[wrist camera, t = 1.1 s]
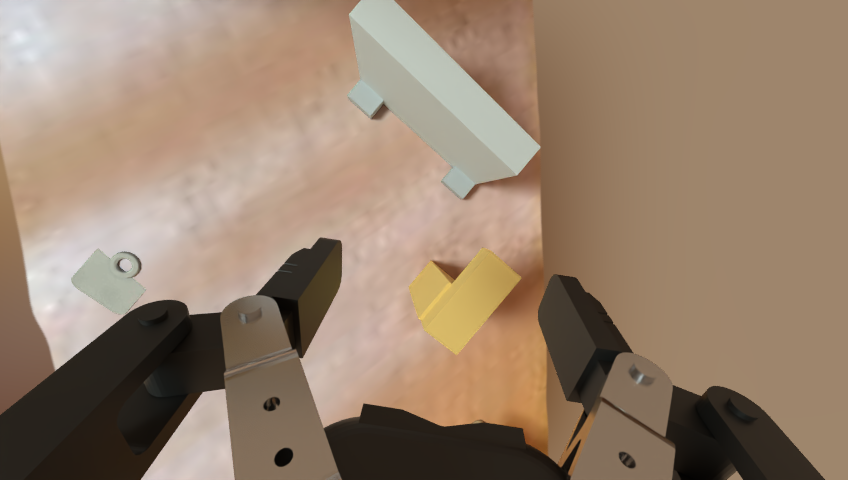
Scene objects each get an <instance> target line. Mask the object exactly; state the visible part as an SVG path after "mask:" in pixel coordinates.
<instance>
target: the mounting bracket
mask: <svg viewBox="0 0 848 480" xmlns="http://www.w3.org/2000/svg"><path fill="white" fill-rule="evenodd" d="M121 259H128V260H129V261H130V262H131V263H132V268H131V270H129V271H128V272H125V271H124V270H123V269H121V268H120V267H119V266H118V262H119V260H121ZM140 269H141V263H140V261H139V259H138V258H137V257H136V256H135V255H134V254H132V253H130V252H120V253H117V254H116V255H114V256H113V257H112V258H111V259H110V258H109V257H108V256H106V255H105V254H104V253H103V252H102V251H100V250H99V249H97V250H96V251H95V252H94V253H93V254H92V255H91V257H90V258H89V259H88V260H87V261H86V262H85V263H84V265H83V266H82V267H81V268H80V269H79V270H78V271H77V272H76V274H75V275H74V276H73V277H72V278H71V281H72V284H73V285H74V286H75V287H76V288H77V289H78V290H80V291H81V292H83V293H85V294H86V295H88V296H89V297H91V298H92V299H94V300H95V301H97V302H98V303H100V304H101V305H103V306H104V307H106V308H107V309H109V310H110V311H112V312H114V313H116V314H126V313H127V311H128V310H129V309H130V308H131V307H132V306H133V304H134V303H135V302H136V301H137V300H138V299H139V298H140V296H141V295H142V294H143V293H144V292H145V291H146V289H145V288H144V287H143V286H142V285H140V284H139V283H138V282H137V281H136V280H135V279H133V278H132V277H134V276H136V275H137V274H138V273H139V271H140Z"/></svg>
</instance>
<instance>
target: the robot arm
mask: <svg viewBox="0 0 848 480" xmlns="http://www.w3.org/2000/svg"><path fill="white" fill-rule="evenodd" d="M341 277H342V243H341V241H340V240H334V239H327V238H319V239H318V240H317V242H316V243H315V244H314V245H313V247H312V248H311V249H306V248H303V249H301V250H299V251H298V252H296V253H294V254H292V255H291V256H290V257H289V258H288V260H287V261H286V262H285V264H283V265H282V266H281V267H280V269H279V270H278V271H277V272H276V273H275V274H274V275H273V276H272V278H271V279H270V280H269V281H268V282H267V283H266V284H265V285H264V287H263V288H262V289H261V290H260V291H259V292H258V293H257V294H256V295H253V296H247V297H243V298H240V299H237V300H235V301H233V302H232V303H230V304H229V305H228V306H226V307H225V309H224V310H223V311H222V312H220V313H208V314H195V315H189V311H188V308H187V306H186V305H185V304H184V303H182V302H180V301H176V300H162V301H156V302H152V303H148V304H145V305H143V306H140V307H138V308H136V309H134V310H132V311H131V312H129V313H128V314H126V315H125V316H124V317H123V318H121V319H120V320H119V321H118V322H116V323H115V324H114V325H113V326H111V327H110V328H109V329H108V330H106V331H105V332H104V333H103V334H101V335H100V336H99V337H98V338H96V339H95V340H94V341H93V342H91V343H90V344H89V345H87V346H86V347H85V348H84V349H82V350H81V351H80V352H79V353H77V354H76V355H75V356H74V357H72V358H71V359H70V360H69V361H67V362H66V363H65V364H64V365H62V366H61V367H60V368H59V369H57V370H56V371H55V372H54V373H53V374H51V375H50V376H49V377H48V378H46V379H45V380H44V381H42V382H41V383H40V384H39V385H37V386H36V387H35V388H34V389H32V390H31V391H30V392H29V393H27V394H26V395H25V396H24V397H22V398H21V399H20V400H19V401H18V402H16V403H15V404H14V405H12V406H11V407H10V408H9V409H7V410H6V411H5V412H4V413H2V414H1V415H0V480H141V478H142V477H143V476H144V474H145V473H146V471H147V470H148V468H149V467H150V466H151V464H152V463H153V461H154V460H155V459H156V457H157V456H158V454H159V453H160V452H161V450H162V449H163V447H164V446H165V445H166V443H167V442H168V440H169V439H170V438H171V436H172V435H173V433H174V432H175V430H176V429H177V428H178V426H179V425H180V423H181V422H182V421H183V419H184V418H185V416H186V415H187V414H188V412H189V411H190V409H191V408H192V407H193V405H194V404H195V402H196V401H197V399H198V398H199V397H200V395H201V394H202V392H205V391H213V390H220V389H225V390H226V400H227V410H228V419H229V429H230V438H231V448H232V457H233V467H234V476H235V480H727V479H728V478H729V477H730V476H731V475H733V474H734V473H735V472H736V471H738V473H739V474H740V476H741V477H742V479H743V480H825V479H824V478H823V477H822V476H821V475H820V473H819V472H818V471H817V470H816V469H815V468H814V467H813V465H812V464H811V463H810V462H809V461H808V460H807V459H806V457H805V456H804V455H803V454H802V453H801V452H800V451H799V449H798V448H797V447H796V446H795V445H794V444H793V443H792V442H791V441H790V439H789V438H788V437H787V436H786V435H785V434H784V433H783V431H782V430H781V429H780V428H779V427H778V426H777V425H776V423H775V422H774V421H773V420H772V419H771V418H770V417H769V416H768V415H767V414H766V412H764V411H763V410H762V409H761V408H760V407H759V406H758V405H756V404H755V403H754V402H752V401H751V400H749V399H748V398H746V397H745V396H743V395H741V394H739V393H737V392H735V391H733V390H730V389H727V388H724V387H720V386H712V387H710V388H708V389H707V391H706V392H705V393H704V394H703V395H702V396H699V395H697V394H694V393H692V392H689V391H687V390H684V389H682V388H679V387H676V386H674V385H672V382H671V380H670V379H669V377H668V376H667V375H666V373H665V372H664V371H663V370H662V369H661V368H659V367H658V366H657V365H656V364H654V363H653V362H651V361H650V360H648V359H646V358H644V357H642V356H639V355H637V354H634V353H633V352H632V350H631V349H630V347H629V346H628V344H627V343H626V341H625V340H624V338H623V337H622V335H621V334H620V332H619V330H618V329H617V327H616V326H615V325H614V324H613V321H612V320H611V318H610V317H609V316H608V315H607V312H606V311H605V309H604V308H603V306H602V305H601V303H600V302H599V301H598V300H596V299H595V298H594V297H593V296H592V295H591V294H590V293H587V292H585V290H584V289H583V288H582V286H581V284H580V282H579V281H578V279H577V278H575V277H569V276H563V275H557V274H555V275H553V276H552V277H551V279H550V281H549V284H548V286H547V289H546V291H545V294H544V296H543V299H542V301H541V304H540V306H539V310H538V321H539V324H540V327H541V330H542V333H543V336H544V338H545V341H546V344H547V347H548V350H549V352H550V355H551V358H552V361H553V364H554V367H555V369H556V372H557V375H558V377H559V380H560V383H561V386H562V389H563V392H564V394H565V397H566V400H567V401H571V402H578V403H582V405H583V407H584V410H583V411H582V413H581V415H580V416H579V419H578V421H577V423H576V425H575V428H574V430H573V432H572V434H571V436H570V439H569V441H568V443H567V445H566V447H565V450H564V452H563V454H562V456H561V458H560V461H559V462H558V464H556V463H555V462H554V461H553V460H552V459H550V458H549V457H548V456H546V455H545V454H543V453H542V452H541V451H539V450H537V449H535V448H534V447H532V446H530V445H528V444H526V443H525V438H524V433H523V429H522V428H516V427H509V426H503V425H497V424H490V423H484V422H483V423H474V424H465V425H456V426H447V427H444V426H439V425H437V424H435V423H432V422H430V421H428V420H425V419H423V418H421V417H418V416H416V415H414V414H411V413H409V412H407V411H404V410H401V409H395V408H389V407H382V406H376V405H370V404H363V408H362V411H361V415H360V417H353V418H349V419H345V420H341V421H339V422H336V423H333V424H331V425H329V426H327V427H325V428H323V425H322V423H321V420H320V417H319V414H318V411H317V408H316V405H315V402H314V399H313V396H312V394H311V391H310V388H309V385H308V382H307V379H306V376H305V373H304V370H303V367H302V365H301V362H300V359H299V358H303V357H304V355H305V353H306V351H307V349H308V347H309V345H310V343H311V341H312V339H313V337H314V336H315V334H316V332H317V330H318V328H319V326H320V324H321V322H322V320H323V318H324V317H325V315H326V313H327V311H328V309H329V307H330V305H331V303H332V301H333V299H334V297H335V296H336V294H337V292H338V290H339V287H340V283H341Z"/></svg>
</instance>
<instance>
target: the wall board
mask: <svg viewBox="0 0 848 480" xmlns="http://www.w3.org/2000/svg"><path fill="white" fill-rule="evenodd" d="M349 18H350V24H351V29H352V35H353V40H354V46H355V51H356V57H357V62H358V68H359V73H360V80H359V82H358V83H357V84H356V85H355V86H354V88H353V89H352V90H351V91H350V92H349V93H348V95H347V96H348V99H349V100H350V101H351V102H352V103H353V104H355V105H356V106H357V107H358V108H359V109H360V110H361V111H362V112H364V113H365V114H366V115H367V116H368V117H369V118H370V119H371V118H372V117H373V116H374V115H375V114H376V112H377V111H378V110H379V109H380V108H381V106H382V105H383V104H384V105H385V106H386V107H387V108H388V109H390V110H391V111H392V112H393V113H394V114H395V115H396V116H397V117H398V118H399V119H400V120H402V121H403V122H404V123H405V124H406V125H407V126H408V127H409V128H410V129H411V130H413V131H414V132H415V133H416V134H417V135H418V136H419V137H420V138H421V139H422V140H423V141H425V142H426V143H427V144H428V145H429V146H430V147H431V148H432V149H433V150H434V151H435V152H437V153H438V154H439V155H440V156H441V157H442V158H443V159H444V160H445V161H446V162H447V163H449V164H450V165H451V166H452V169H451V170H450V171H449V172H448V173H447V175H446V176H445V177H444V178H443V179H442V181H441V182H442V183H443V184H444V185H445V186H446V187H447V188H448V189H449V190H451V191H452V192H453V193H454V194H455V195H456V196H457V197H458V198H459V199H463V198H464V197H465V196H466V195H467V194H468V192H469V191H470V190H471V189H472V188H473V186H474V185H475V184H479V183H484V182H489V181H493V180H498V179H503V178H507V177H512V176H516V175H518V174H519V172H520V171H521V170H522V169H523V168H524V167H525V165H526V164H527V163H528V162H529V161H530V159H531V158H532V157H533V156H534V155H535V154H536V152H537V151H538V150H539V149H540V148H541V147H540V146H539V145H538V144H537V143H536V142H535V141H534V140H533V139H532V138H531V137H530V136H529V135H528V134H527V133H526V132H525V131H524V130H523V129H522V128H521V127H520V126H519V125H518V124H517V123H516V122H515V121H514V120H513V119H512V118H511V117H510V116H509V115H508V114H507V113H506V112H505V111H504V110H503V109H502V108H501V107H500V106H499V105H498V104H497V103H496V102H495V101H494V100H493V99H492V98H491V97H490V96H489V95H488V94H487V93H486V92H485V91H484V90H483V89H482V88H481V87H480V86H479V85H478V84H477V83H476V82H475V81H474V80H473V79H472V78H471V77H470V76H469V75H468V74H467V73H466V72H465V71H464V70H463V69H462V68H461V67H460V66H459V65H458V64H457V63H456V62H455V61H454V60H453V59H452V58H451V57H450V56H449V55H448V54H447V53H446V52H445V51H444V50H443V49H442V48H441V47H440V46H439V45H438V44H437V43H436V42H435V41H434V40H433V39H432V38H431V37H430V36H429V35H428V34H427V33H426V32H425V31H424V30H423V29H422V28H421V27H420V26H419V25H418V24H417V23H416V22H415V21H414V20H413V19H412V18H411V17H410V16H409V15H408V14H407V13H406V12H405V11H404V10H403V9H402V8H401V7H400V6H399V5H398V4H397V3H396V2H395V1H394V0H361V1H360V2H359V3H358V4H357V5H356V7H355V8H354V9H353V10H352V11H351V13H350V14H349Z"/></svg>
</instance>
